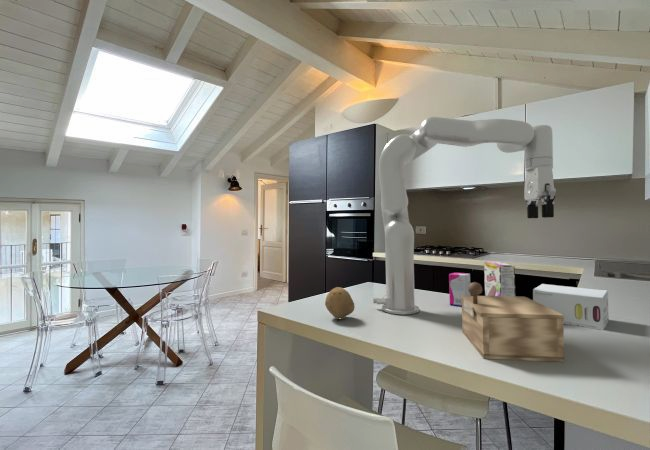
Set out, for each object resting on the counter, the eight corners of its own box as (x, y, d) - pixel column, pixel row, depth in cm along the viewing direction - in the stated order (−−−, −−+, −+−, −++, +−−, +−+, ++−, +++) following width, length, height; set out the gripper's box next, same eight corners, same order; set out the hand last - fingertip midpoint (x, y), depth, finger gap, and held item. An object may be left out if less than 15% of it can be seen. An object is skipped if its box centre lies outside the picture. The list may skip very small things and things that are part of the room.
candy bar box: (484, 308, 114) (483, 261, 114) (498, 308, 114) (497, 261, 114) (500, 317, 103) (499, 265, 103) (516, 317, 103) (515, 264, 103)
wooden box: (483, 358, 72) (482, 317, 72) (462, 332, 89) (461, 299, 89) (564, 361, 69) (563, 319, 69) (526, 334, 87) (525, 300, 87)
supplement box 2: (532, 319, 101) (531, 288, 101) (542, 311, 110) (542, 283, 110) (604, 331, 89) (603, 296, 89) (609, 320, 98) (608, 289, 98)
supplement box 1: (471, 304, 120) (470, 273, 120) (465, 307, 116) (464, 275, 116) (455, 302, 124) (454, 272, 124) (449, 305, 120) (448, 273, 120)
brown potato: (320, 316, 107) (320, 286, 107) (345, 313, 111) (344, 283, 111) (332, 324, 99) (331, 290, 99) (358, 320, 102) (357, 288, 102)
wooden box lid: (479, 324, 72) (478, 289, 72) (458, 304, 90) (458, 276, 90) (564, 326, 69) (563, 290, 69) (525, 305, 87) (524, 277, 87)
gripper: (515, 170, 116) (516, 218, 115) (539, 160, 98) (540, 217, 98) (538, 169, 114) (539, 218, 114) (567, 159, 97) (568, 216, 97)
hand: (539, 217), depth 106 cm, fingers open, 9 cm apart
